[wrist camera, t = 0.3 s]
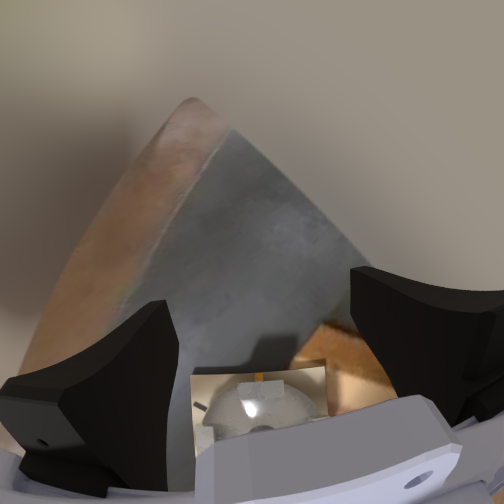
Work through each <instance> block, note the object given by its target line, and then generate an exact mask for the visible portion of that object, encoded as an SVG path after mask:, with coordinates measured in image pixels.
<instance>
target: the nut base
mask: <svg viewBox="0 0 504 504" xmlns="http://www.w3.org/2000/svg"><path fill="white" fill-rule="evenodd" d="M261 373H262V372H261ZM278 379H282V380H283V382H284V384H286V385H289V386H292V387H294V388H296V389H298V390H300V391H301V392H302V393H304V394H305V395H306V396H308V397H309V398H310V399H311V400H312V401H313V403H314V404H315V405H316V406H317V408H318V410H319V411H320V413H321V414H326V415H328V407H327V392H326V379H325V367H324V366H323V367H315V368H306V369H296V370H286V371H274V372H263V380H278ZM190 380H191V399H192V415H193V429H194V442H195V453H196V456H197V448H196V436H195V426H196V425H197V424H198V423H202V421H203V418H204V416H205V414H206V412H207V411H208V409H209V408H210V406H211V405H212V404H213V403H214V402H215V400H216V399H218V398H219V397H220V396H221V395H222V394H223V393H225V392H226V391H228V390H229V389H231V388H233V387H235V386H237V385H238V382H251V381H255V377H254V373H244V374H218V375H190Z"/></svg>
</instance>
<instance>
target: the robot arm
mask: <svg viewBox="0 0 504 504" xmlns="http://www.w3.org/2000/svg"><path fill="white" fill-rule="evenodd" d="M350 284H351V301H350V314H351V316H352V318H353V320H354V323H355V325H356V327H357V329H358V331H359V333H360V334H361V336H362V337H363V339H364V340H365V342H366V343H367V345H368V346H369V348H370V349H371V351H372V352H373V354H374V355H375V357H376V358H377V360H378V361H379V363H380V364H381V366H382V367H383V369H384V370H385V372H386V374H387V375H388V377H389V379H390V381H391V383H392V385H393V387H394V389H395V391H396V394H397V396H398V398H395V399H390V400H387V401H384V402H381V403H378V404H375V405H372V406H369V407H365V408H362V409H359V410H355V411H352V412H348V413H344V414H341V415H337V416H333V417H329V418H325V419H321V420H316V421H312V422H308V423H303V424H298V425H293V426H288V427H282V428H277V429H271V430H264V431H258V432H251V433H246V434H242V435H238V436H235V437H231V438H227V439H223V440H219V441H217V442H215V443H213V444H212V445H211V446H209V447H208V448H207V449H206V450H204V451H203V452H202V453H200V454H199V455H198V456H196V475H195V491H191V492H168V486H167V467H166V436H167V418H168V410H169V405H170V400H171V395H172V390H173V385H174V380H175V376H176V371H177V366H178V355H179V341H178V338H177V335H176V332H175V329H174V325H173V322H172V319H171V316H170V313H169V309H168V306H167V303H166V300H159V301H152V302H149V303H148V304H146V305H145V306H143V307H142V308H141V309H140V310H138V311H137V312H136V313H135V314H133V315H132V316H131V317H130V318H129V319H127V320H126V321H125V322H124V323H122V324H121V325H120V326H119V327H117V328H116V329H115V330H113V331H112V332H111V333H109V334H108V335H107V336H105V337H104V338H103V339H101V340H100V341H98V342H97V343H95V344H94V345H92V346H90V347H89V348H87V349H85V350H84V351H82V352H80V353H78V354H76V355H74V356H72V357H70V358H68V359H66V360H64V361H62V362H59V363H57V364H55V365H52V366H49V367H47V368H44V369H41V370H38V371H35V372H31V373H28V374H24V375H20V376H16V377H11V378H9V379H8V380H7V381H6V382H5V384H4V385H3V386H2V388H1V389H0V422H1V423H2V424H3V426H4V427H5V428H6V429H7V431H8V432H9V433H10V434H11V435H12V437H13V438H14V439H15V440H16V441H17V442H18V444H19V445H20V446H21V447H22V448H23V449H24V450H25V451H26V452H25V454H24V457H23V458H22V457H20V456H19V455H17V454H15V453H13V452H10V451H7V450H4V449H1V448H0V504H495V503H494V501H493V499H492V496H493V495H494V494H496V493H497V492H498V491H499V490H501V489H502V488H503V487H504V290H500V291H471V290H459V289H450V288H445V287H439V286H434V285H429V284H425V283H421V282H418V281H414V280H410V279H407V278H404V277H401V276H397V275H395V274H391V273H389V272H385V271H382V270H379V269H376V268H372V267H368V266H362V267H357V268H352V269H350Z"/></svg>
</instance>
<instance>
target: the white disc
mask: <svg viewBox="0 0 504 504" xmlns="http://www.w3.org/2000/svg"><path fill="white" fill-rule="evenodd" d="M254 377H255V381H251V382H238V385H237V386H235V387H233V388H231V389H229V390H228V391H226V392H225V393H223V394H222V395H221V396H220V397H219V398H218V399H216V400H215V402H214V403H213V404H212V405H211V406H210V408H209V409H208V411H207V412H206V414H205V416H204V418H203V421H202V423H198V424H197V425H196V426H195V436H196V448H197V456H198V455H199V454H200V453H202V452H203V451H204V450H206V449H207V448H208V447H209V446H211V445H212V444H213V443H215V442H217V441H219V440H223V439H227V438H231V437H235V436H238V435H242V434H246V433H251V432H258V431H264V430H271V429H277V428H282V427H288V426H293V425H298V424H303V423H308V422H312V421H316V420H321V419H325V418H329V417H330V416H328V415H326V414H321V413H320V411H319V410H318V408H317V406H316V405H315V404H314V403H313V401H312V400H311V399H310V398H309V397H308V396H306V395H305V394H304V393H302V392H301V391H300V390H298V389H296V388H294V387H292V386H289V385H286V384H284V382H283V380H282V379H278V380H263V372H262V373H254Z"/></svg>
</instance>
